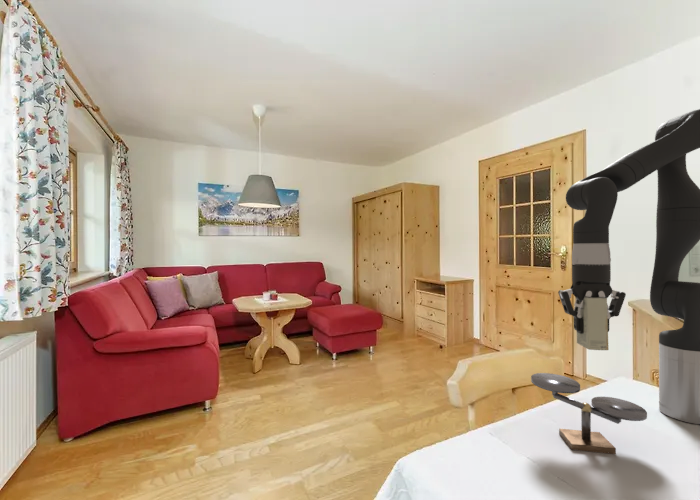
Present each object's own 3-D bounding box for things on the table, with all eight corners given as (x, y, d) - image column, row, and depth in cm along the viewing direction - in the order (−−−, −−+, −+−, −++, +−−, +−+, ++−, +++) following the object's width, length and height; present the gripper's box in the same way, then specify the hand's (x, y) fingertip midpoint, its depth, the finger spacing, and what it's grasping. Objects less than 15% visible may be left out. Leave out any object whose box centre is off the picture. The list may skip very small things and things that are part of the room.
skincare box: (609, 351, 76) (608, 298, 76) (587, 350, 77) (587, 298, 77) (594, 343, 82) (594, 294, 82) (574, 342, 83) (574, 294, 83)
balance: (629, 437, 73) (629, 378, 73) (658, 463, 64) (658, 396, 64) (525, 427, 77) (525, 371, 77) (539, 450, 68) (539, 387, 68)
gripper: (615, 261, 82) (615, 330, 82) (551, 261, 85) (552, 328, 85) (634, 263, 75) (635, 338, 75) (564, 263, 78) (565, 335, 78)
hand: (591, 332), depth 80 cm, fingers closed on skincare box, 4 cm apart
